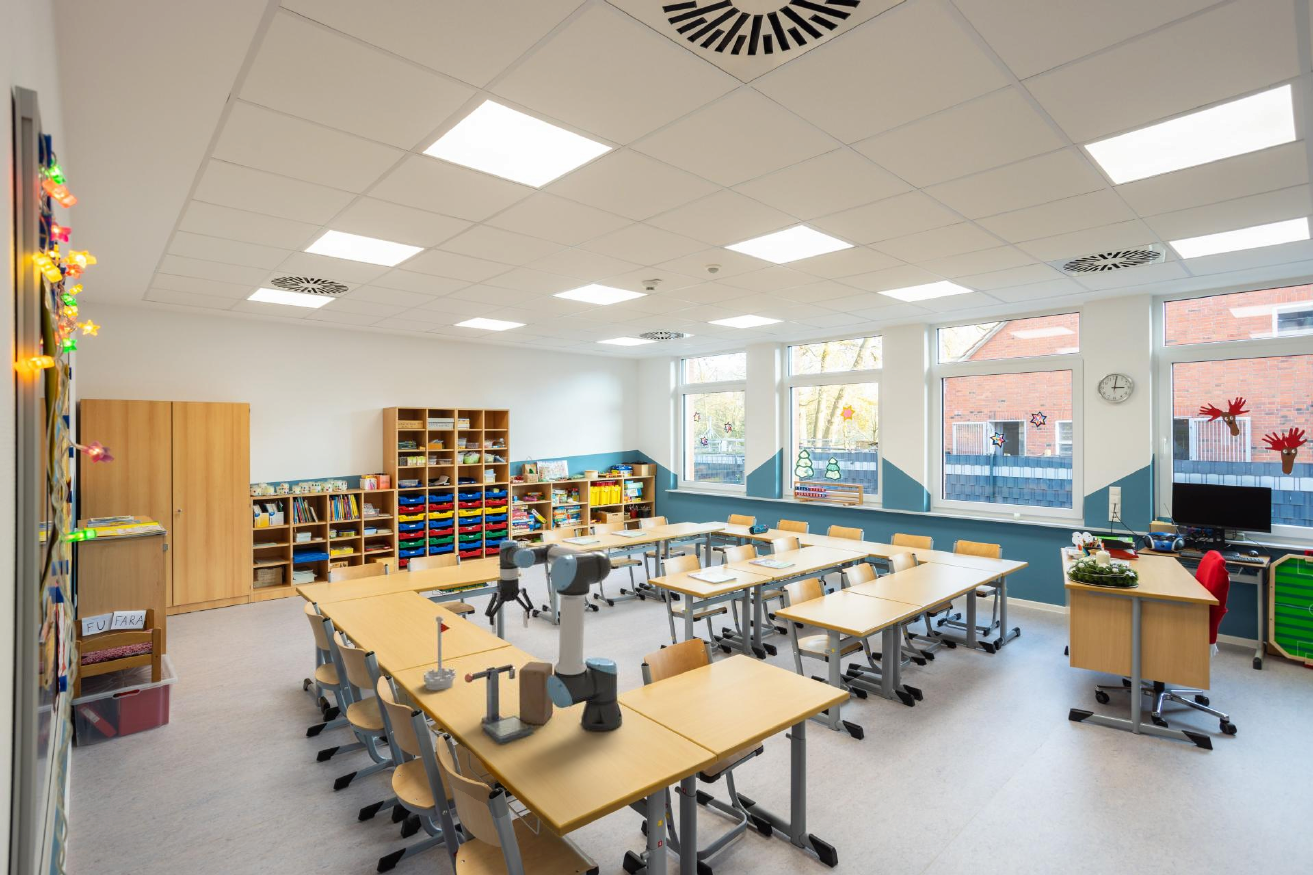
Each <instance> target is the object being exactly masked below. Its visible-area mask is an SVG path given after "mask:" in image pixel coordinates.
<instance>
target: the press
mask: <svg viewBox="0 0 1313 875" xmlns="http://www.w3.org/2000/svg"><path fill="white" fill-rule="evenodd" d="M495 668H496V667H494V666H492V667H487V668H486V669H485V671H487V670H491V669H495ZM499 674H500V673H499V670H498V669H496V670H493V671H490V676H487V677H486V681H485V682H486V716H484V717H481V722H482V723H484V725H482V726H481V729H482V732H483V733H484V734H485V735H486V736H488V737H489V738H490V739H491V740H493V741H494V742H496V743H497V744H498V745H500V746H501V745H505V744H507V743H510V742H513V741H517V740H519V739H522V738H524V737H525V738H526V737H528V736H530V735H533V734H534V727H532V726H531V724H528V723H525V722H524V721H522V720H521V719H520V717H518V716H516V715H512V716H509V717H506V718H504V717H503V716H501V715H500V703H499V702H500V694H499V692H500V691H499V687H500V686H499V684H500V682H499V681H500V680H499V677H500V676H499Z"/></svg>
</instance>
